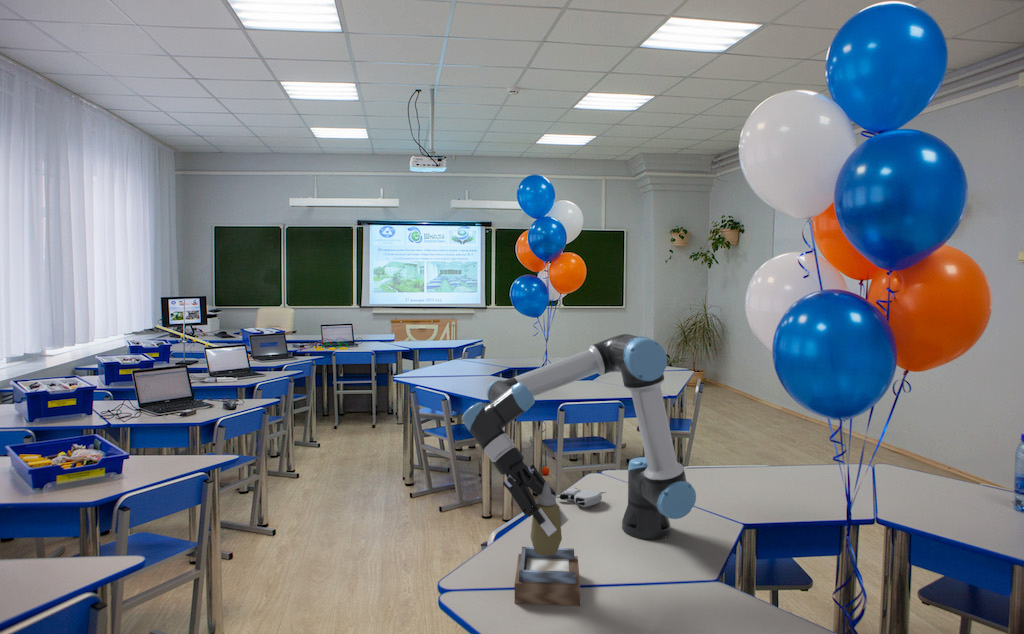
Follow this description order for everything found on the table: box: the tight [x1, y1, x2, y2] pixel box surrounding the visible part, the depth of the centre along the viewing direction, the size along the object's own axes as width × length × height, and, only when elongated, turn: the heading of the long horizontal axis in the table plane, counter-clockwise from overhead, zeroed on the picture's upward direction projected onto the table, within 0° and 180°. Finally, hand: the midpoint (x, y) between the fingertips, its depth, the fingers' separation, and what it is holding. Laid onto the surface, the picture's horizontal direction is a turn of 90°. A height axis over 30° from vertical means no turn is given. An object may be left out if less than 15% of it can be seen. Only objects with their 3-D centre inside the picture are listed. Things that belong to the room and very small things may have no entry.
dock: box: [514, 546, 581, 607], centre depth 153 cm, size 16×16×8 cm
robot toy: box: [556, 487, 607, 509], centre depth 213 cm, size 12×4×15 cm
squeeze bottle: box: [530, 481, 563, 556], centre depth 152 cm, size 8×8×18 cm
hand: (558, 527), depth 151 cm, fingers closed on squeeze bottle, 6 cm apart
